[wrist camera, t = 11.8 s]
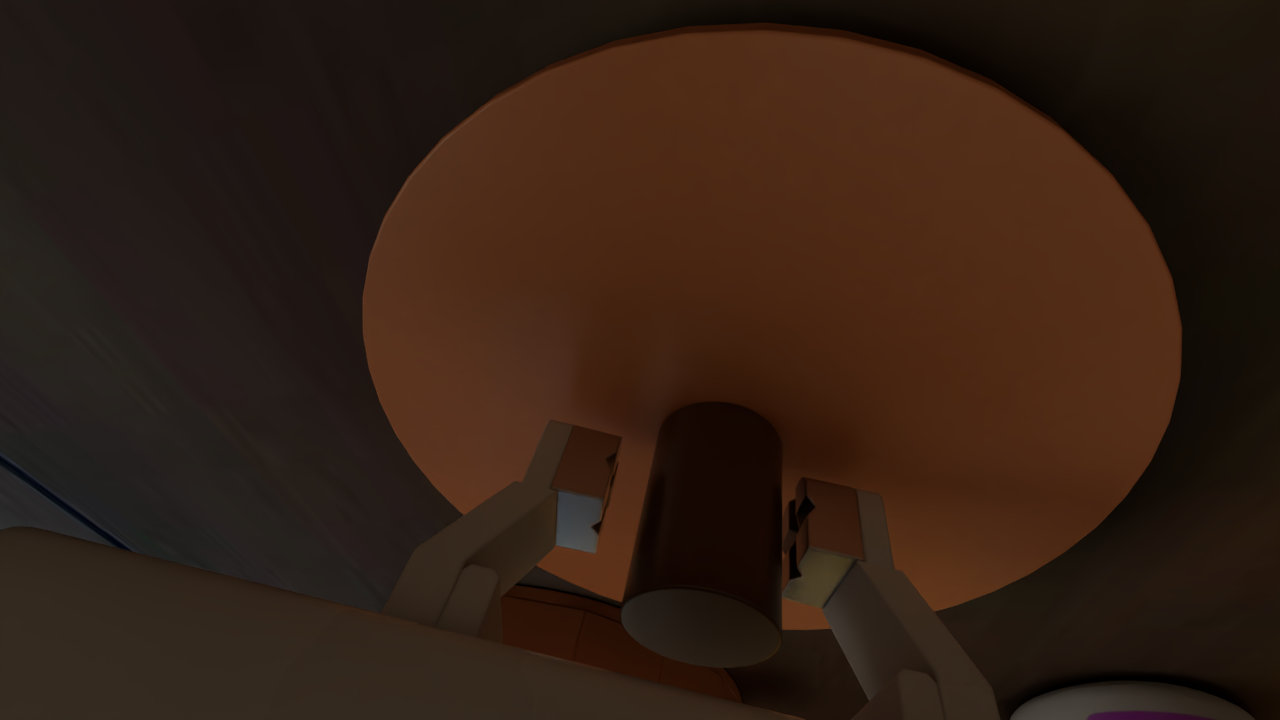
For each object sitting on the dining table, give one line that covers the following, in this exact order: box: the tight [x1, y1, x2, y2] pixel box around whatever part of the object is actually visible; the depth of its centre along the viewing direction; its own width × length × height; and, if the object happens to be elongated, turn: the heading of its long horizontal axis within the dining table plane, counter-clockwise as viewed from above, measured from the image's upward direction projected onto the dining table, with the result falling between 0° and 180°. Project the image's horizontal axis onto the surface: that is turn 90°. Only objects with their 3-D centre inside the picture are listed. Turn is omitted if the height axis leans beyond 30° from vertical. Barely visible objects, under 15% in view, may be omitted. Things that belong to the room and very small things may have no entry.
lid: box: [363, 23, 1182, 668], centre depth 11 cm, size 16×16×5 cm
